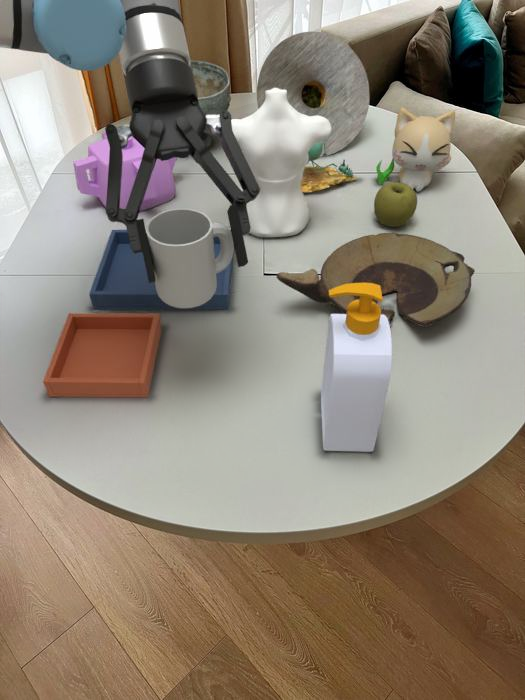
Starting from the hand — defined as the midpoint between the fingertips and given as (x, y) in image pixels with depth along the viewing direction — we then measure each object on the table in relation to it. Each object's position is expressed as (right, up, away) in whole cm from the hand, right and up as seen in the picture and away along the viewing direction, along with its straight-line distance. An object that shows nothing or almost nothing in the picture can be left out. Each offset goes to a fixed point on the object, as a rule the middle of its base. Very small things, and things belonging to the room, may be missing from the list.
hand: (198, 272), depth 63 cm
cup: (-1, -1, +5) cm, 6 cm away
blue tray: (-9, +4, +33) cm, 34 cm away
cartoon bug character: (+18, +25, +53) cm, 62 cm away
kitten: (+38, +25, +53) cm, 70 cm away
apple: (+31, +15, +43) cm, 56 cm away
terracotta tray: (-15, -10, +19) cm, 26 cm away
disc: (+18, +41, +68) cm, 81 cm away
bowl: (-9, +39, +66) cm, 77 cm away
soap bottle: (+18, -18, +11) cm, 28 cm away
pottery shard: (+25, 0, +29) cm, 38 cm away
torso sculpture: (+9, +15, +43) cm, 46 cm away
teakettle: (-18, +23, +51) cm, 59 cm away
